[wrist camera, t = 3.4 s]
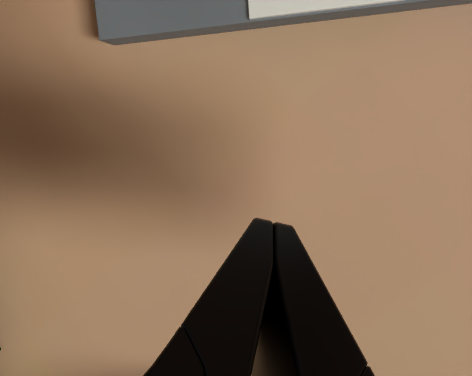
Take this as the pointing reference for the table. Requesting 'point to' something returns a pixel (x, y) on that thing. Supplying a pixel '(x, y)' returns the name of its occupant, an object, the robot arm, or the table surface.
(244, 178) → the table surface
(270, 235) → the robot arm
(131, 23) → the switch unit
